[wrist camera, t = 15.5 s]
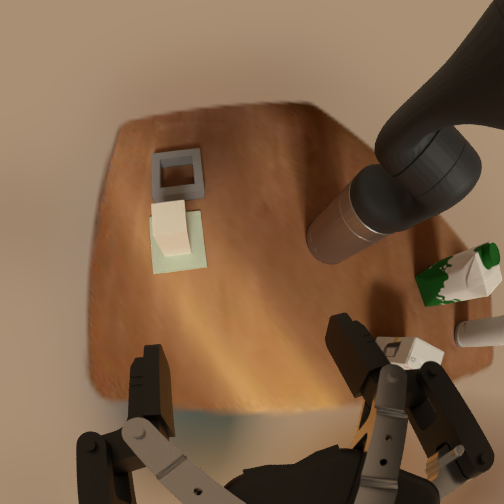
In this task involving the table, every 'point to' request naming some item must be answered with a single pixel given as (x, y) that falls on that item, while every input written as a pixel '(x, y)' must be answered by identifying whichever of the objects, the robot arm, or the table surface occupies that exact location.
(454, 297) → the milk carton
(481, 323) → the travel mug
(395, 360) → the ink box
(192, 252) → the mat
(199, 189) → the grey square frame
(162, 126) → the table surface
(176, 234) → the cream carton
